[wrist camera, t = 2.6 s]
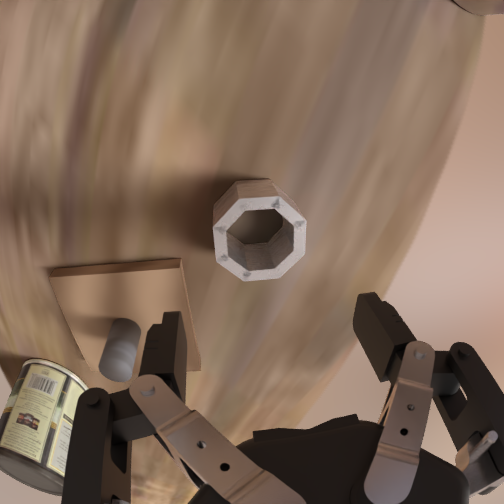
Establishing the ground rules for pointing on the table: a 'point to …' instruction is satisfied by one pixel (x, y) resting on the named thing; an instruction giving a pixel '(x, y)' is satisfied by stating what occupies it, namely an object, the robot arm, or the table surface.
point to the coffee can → (39, 425)
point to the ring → (259, 254)
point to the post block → (122, 311)
